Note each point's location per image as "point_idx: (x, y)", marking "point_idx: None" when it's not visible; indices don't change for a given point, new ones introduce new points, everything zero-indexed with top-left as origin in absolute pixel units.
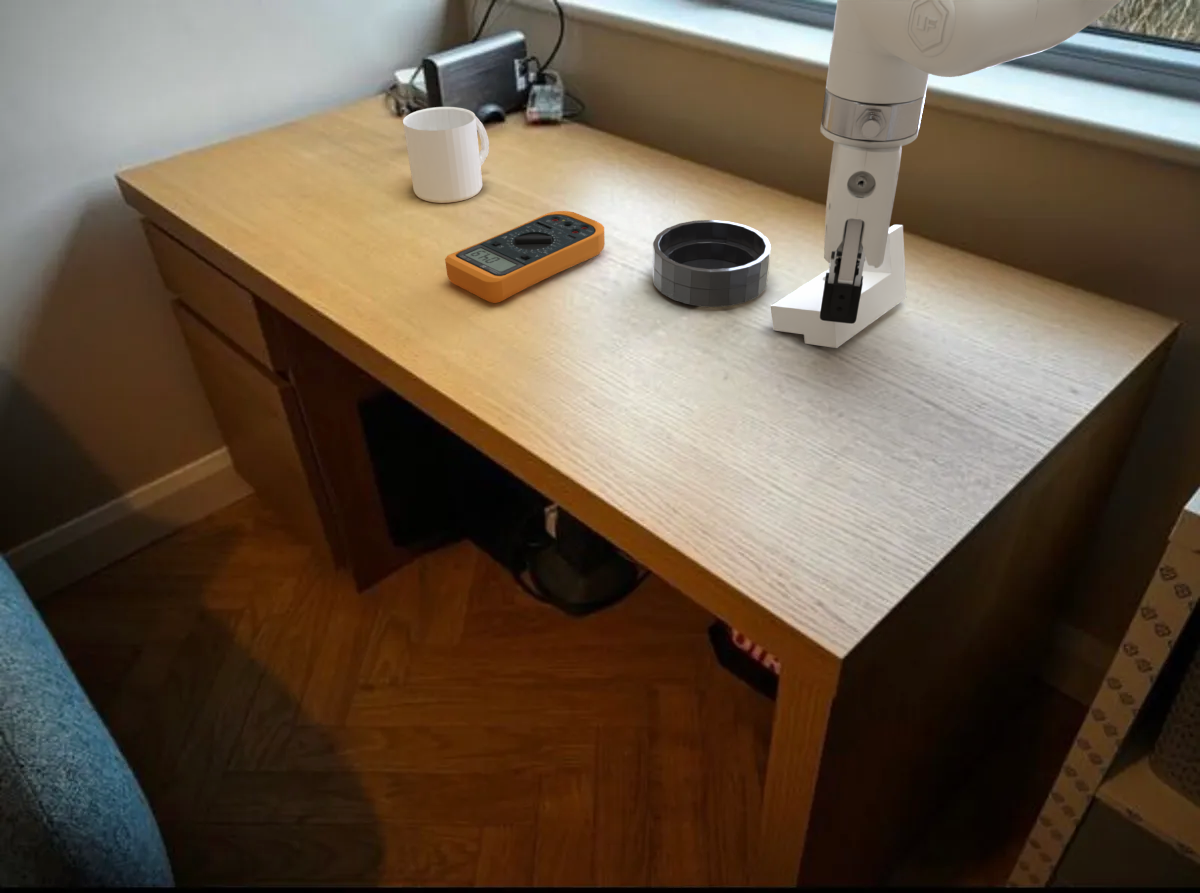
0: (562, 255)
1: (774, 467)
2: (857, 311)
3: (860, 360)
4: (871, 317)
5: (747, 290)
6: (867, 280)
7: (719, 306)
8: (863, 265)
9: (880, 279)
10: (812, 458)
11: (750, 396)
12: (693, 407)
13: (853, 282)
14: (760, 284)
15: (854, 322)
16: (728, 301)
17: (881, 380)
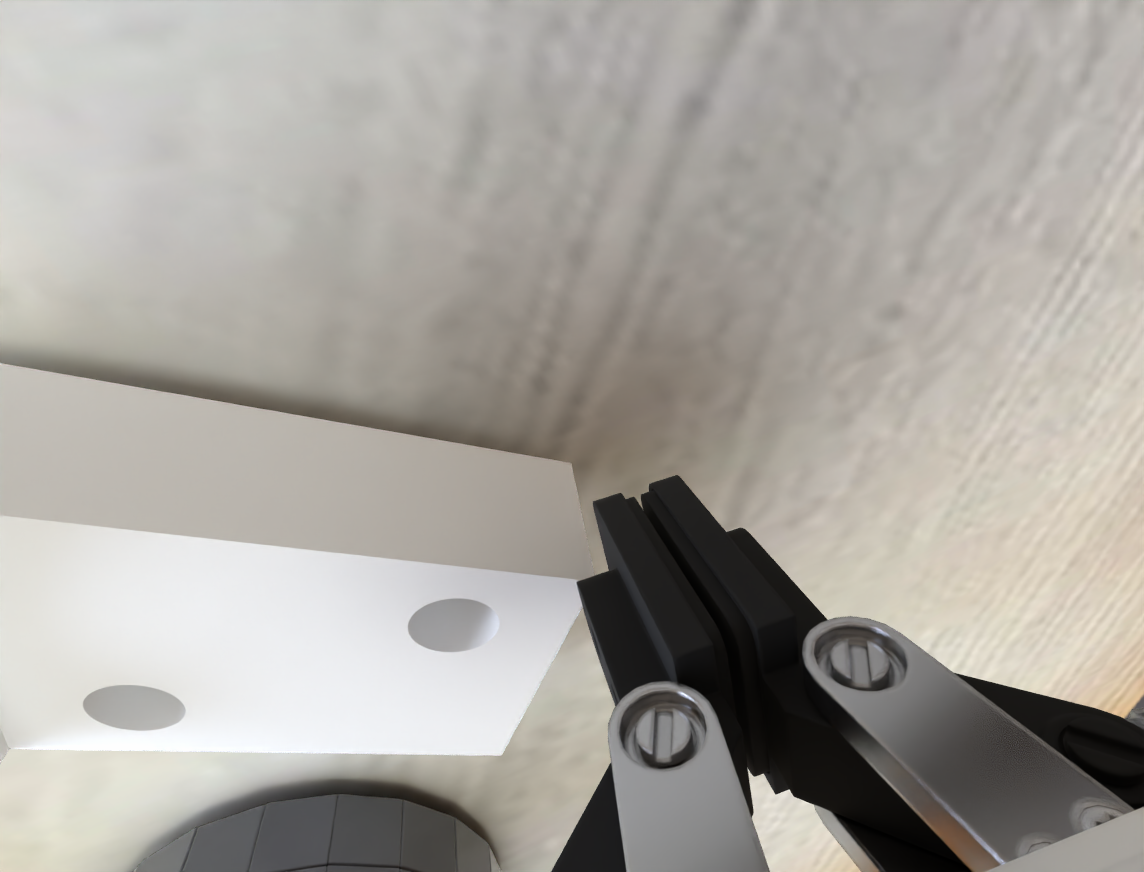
0: None
1: (1131, 388)
2: (700, 503)
3: (546, 360)
4: (282, 429)
5: (392, 841)
6: (107, 581)
7: (469, 828)
8: (1086, 776)
9: (60, 530)
10: (1096, 316)
11: (859, 559)
12: (929, 636)
13: (961, 678)
14: (314, 836)
15: (675, 476)
16: (453, 832)
17: (651, 244)
